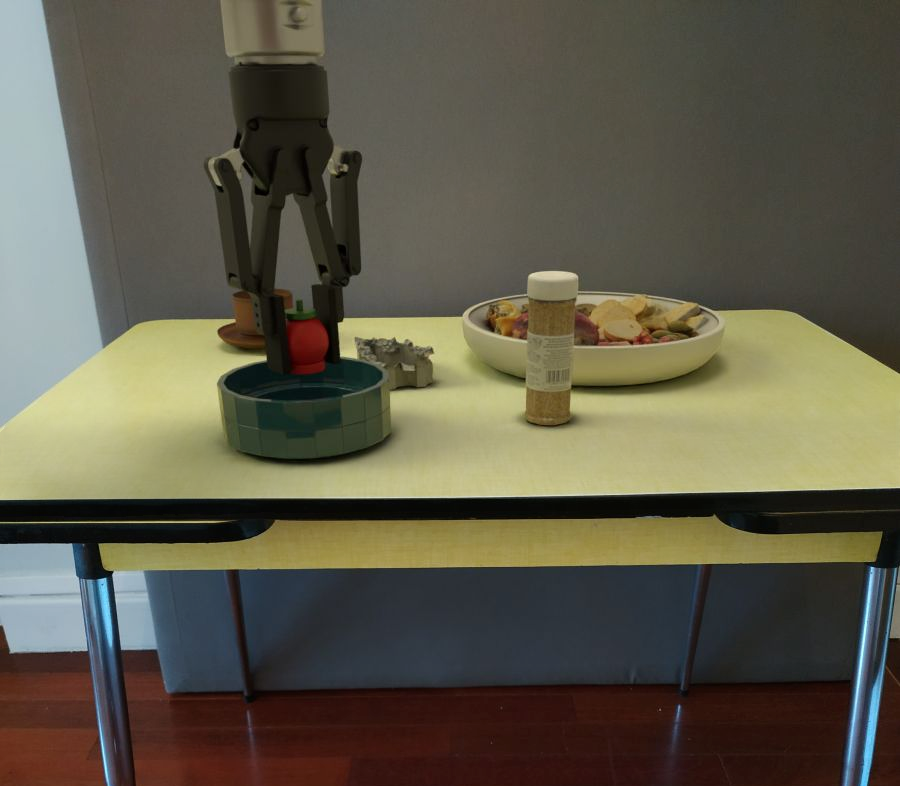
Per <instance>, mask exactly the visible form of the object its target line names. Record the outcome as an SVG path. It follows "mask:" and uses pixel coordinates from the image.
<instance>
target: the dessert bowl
mask: <svg viewBox="0 0 900 786" xmlns="http://www.w3.org/2000/svg"><path fill="white" fill-rule="evenodd" d="M340 360H341V363H339V364H334V365H333V364H331V363H328V362H325V369H324V370H323V371H321V372H318V373H313V374H287V375H282V374H279V373H277V372H274V371H272V370H269V369H268V367H267V359H265V360H261V361H260V360H259V361H254V362H251V363H246V364H244V365H241V366H238V367H235V368H232V369H230V370H229V371H226V372H225V373H223V374H222V375H220V377H219V378H218V380H217V382H216V387H217V388H216V389H217V395H218V403H219V410H220V417H221V418H220V419H221V426H222V433H223V437H224V439H225V441H226V443H227V444H228V446H231V447H232V448H234V449H236V450H238V451H240V452H243V453H246V454H251V455H255V456H259V457H264V458H265V457H266V458H276V459H284V460H313V459H314V460H315V459H324V458H331V457H336V456H340V455H345V454H348V453H352V452H356V451H359V450H363V449H366V448H369V447H371V446H373V445H376V444H378V443H379V442H381V441H383V440H385V438H386V437H387V436H388V435H389V434H390V433H391V432H392V412H391V411H392V410H391V390H390V384H389V371H387V370H386V369H385V368H383V367H382V366H381V365H378V364H375V363H372V362H369V361H366V360H361V359H357V358H355V357H348V356H340Z"/></svg>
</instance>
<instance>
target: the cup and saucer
mask: <svg viewBox="0 0 900 786" xmlns="http://www.w3.org/2000/svg"><path fill="white" fill-rule="evenodd" d="M274 294H278V295H281V296H283V297H284V307H285V310H286V309H290V308H294V300H293V299H294V297H293V291H291V290H289V289H285V288H276V287H274ZM231 297H232V305H233V312H234V319H235V320H234V321H235V322H231V323H228V324H225V325H224V324H223V325H222V326H221V327H219V328H218V329H217V330H216V333H217V336H218V338H219V339H221V340H222V341H223V342H225V343H226V344H228V345H230V346H234V347H238V348H243V349H252V350H266V349H265V339H264V335H261V334H258V333H257V331H256V329H255V325H254V317H253V316H254V315H253V308H252V299H251V296H250V294H249V293H248V292H246V291H242V290H239V291H236V292H234V293H232V295H231Z"/></svg>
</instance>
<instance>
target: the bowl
mask: <svg viewBox="0 0 900 786" xmlns="http://www.w3.org/2000/svg"><path fill="white" fill-rule="evenodd" d="M576 298H577V301H576V303H575V324H574V346H573V370H572V383H571V386H584V387H587V386H588V387H614V386H615V387H616V386H617V387H619V386H633V385H634V386H635V385H643V384H650V383H657V382H661V381H667V380H671V379H675V378H678V377H681V376H685V375H687V374H689V373H691V372H694V371H695V370H697V369H699V368H700V367H702V366H704V365H705V364H706V363H707V362H708V361H709V360H711V358H713V356H714V355H715V353H716V352H717V351H718V350H719V348H720V346H721V344H722V342H723V339H724V335H725V330H726V320H725V318H724V317H723V316H722V315H721V314H720V313H718V312H717V311H715V310H712V309H710V308H708V307H705V306H703V305H700V304H699V303H697V302H695V303H694V302H692V301H684V300H679V299H674V298H669V297H663V296H656V295H647V294H646V293H644V294H639V293H628V292H627V293H626V292H611V291H578V296H577V297H576ZM528 316H529V301H528V296H527V293H524V294H518V295H517V294H516V295H509V296H503V297H499V298H493V299H490V300H487V301H482V302H480V303H478V304H475V305H472V306H471V307H469V308H467V309H466V310H465V311H464V313H463V314H462V318H461V328H462V334H463V337H464V340H465V343H466V344H467V347H468V349H470V351H471V352H472V353H473V355H475V357H476V358H478V359H479V360H480V361H481V362H482V363H484V364H485V365H487V366H489V367H491V368H492V369H495V370H497V371H500V372H502V373H504V374H507V375H511V376H514V377H518V378H523V379H526V366H527V332H528Z"/></svg>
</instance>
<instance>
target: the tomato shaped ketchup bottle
mask: <svg viewBox="0 0 900 786" xmlns="http://www.w3.org/2000/svg"><path fill="white" fill-rule="evenodd" d="M315 317H316V310H315V309H313V307H304V301H303V299H301V298H300V299H295V307H293V308H290V309H286V310H285V318H286V328H287V338H288V348H289V358H290V369H291V374H313V373H318V372H321V371H323V370H324V369H325V361H324V359H323V358H324V356H325V355H326V353H327V350H328V345H329V339H328V334H327V331H326V329H325V327H324V326H323V324H322V323H321V322H320V321H319V320H318V319H316V318H315Z"/></svg>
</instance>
